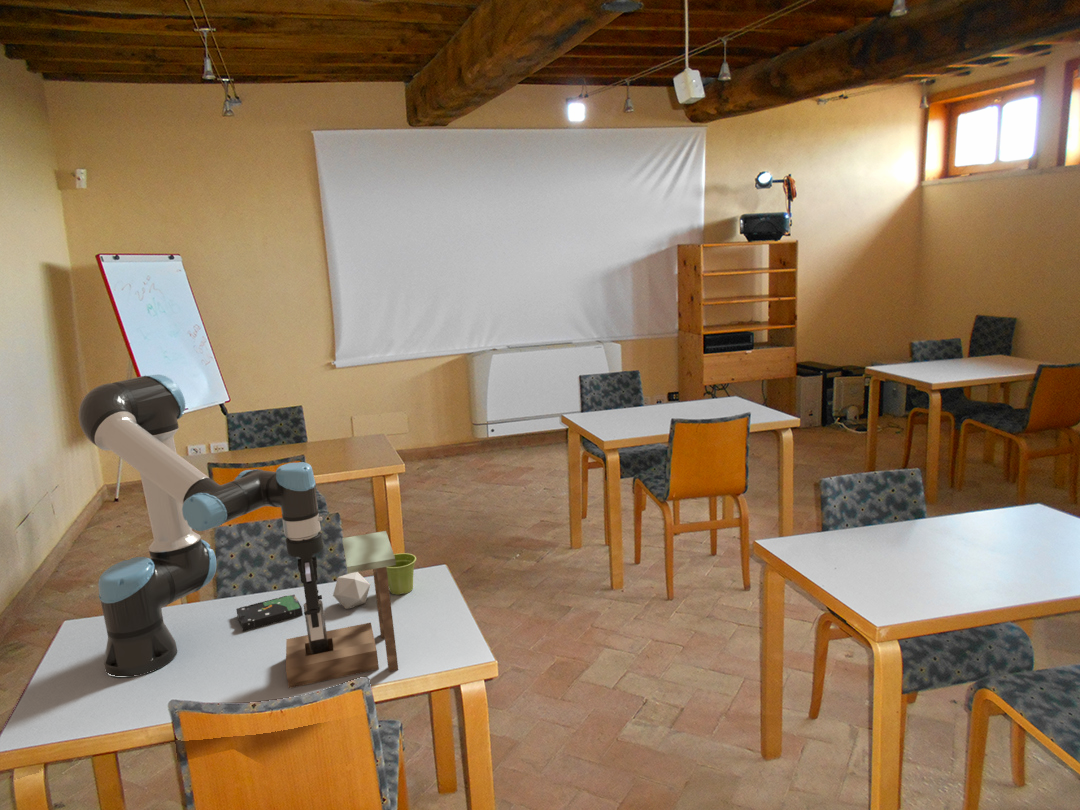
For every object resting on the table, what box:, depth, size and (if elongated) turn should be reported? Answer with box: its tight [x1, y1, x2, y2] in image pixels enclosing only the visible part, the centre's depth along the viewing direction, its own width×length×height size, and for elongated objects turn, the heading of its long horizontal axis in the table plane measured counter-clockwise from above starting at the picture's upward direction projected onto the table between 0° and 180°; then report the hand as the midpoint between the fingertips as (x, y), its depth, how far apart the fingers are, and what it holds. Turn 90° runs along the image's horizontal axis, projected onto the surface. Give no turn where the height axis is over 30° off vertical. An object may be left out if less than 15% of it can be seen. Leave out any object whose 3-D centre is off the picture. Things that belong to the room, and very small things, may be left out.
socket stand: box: [285, 530, 399, 689], centre depth 174 cm, size 25×18×26 cm
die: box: [332, 572, 371, 610], centre depth 204 cm, size 8×9×10 cm
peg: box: [303, 599, 329, 654], centre depth 173 cm, size 4×4×11 cm
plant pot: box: [387, 552, 417, 596], centre depth 210 cm, size 9×9×9 cm
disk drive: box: [236, 594, 304, 632], centre depth 201 cm, size 10×3×15 cm
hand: (317, 634), depth 173 cm, fingers closed on peg, 4 cm apart
